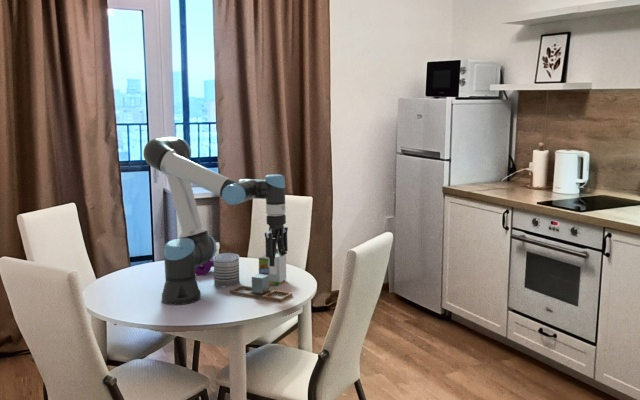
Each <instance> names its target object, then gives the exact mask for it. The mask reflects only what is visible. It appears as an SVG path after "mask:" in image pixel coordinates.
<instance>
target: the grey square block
mask: <svg viewBox="0 0 640 400" xmlns="http://www.w3.org/2000/svg"><path fill="white" fill-rule="evenodd" d="M275 258H277V274H270V259H269V258H268V263H269V281H274V282H281V281H283V280H285V281H286V280H287V254H279V253H278V254H277V253H276V255H275ZM283 282H284V281H283Z"/></svg>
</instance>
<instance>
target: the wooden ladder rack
mask: <svg viewBox="0 0 640 400" xmlns="http://www.w3.org/2000/svg"><path fill="white" fill-rule="evenodd" d="M241 290H246V291H247V290H249V291H247V292H242V291H241ZM229 294H230V295H234V296H241V297H248V298H254V299H258V300H259V299H260V300H266V301H270V300H271V302H276V301H277V303H283V302H284V301H286V300H288V299H290V298H292V297H293V292H289V291H288V292H287V291H283V290H282V291H281V290H276V289H269V293H267V294H265V295H263V296H262V295H256V294H252V286H248V285H242V284H241V285H240V286H238V287H235V288H233V289H230V290H229ZM277 294H278V296H282V297H275V296H274V295H277Z"/></svg>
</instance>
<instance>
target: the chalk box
mask: <svg viewBox="0 0 640 400" xmlns="http://www.w3.org/2000/svg"><path fill="white" fill-rule="evenodd" d="M276 253H277V254H279V251H278V248H276ZM258 274H264V275H269V263H268V258H267V257H266V254H263V255H262V256H260V257H258ZM285 281H286V279H285V280H283V281H281V282H274V281H269V286H275V285H276V286H277V287H278V286H280V284H282V283H284V282H285Z"/></svg>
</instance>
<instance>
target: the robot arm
mask: <svg viewBox="0 0 640 400" xmlns="http://www.w3.org/2000/svg"><path fill="white" fill-rule="evenodd" d="M191 156H192V149H191V147H190V144H189V143H188V141H186V139H184V138H182V137H178V136H167V137H158V138H157V137H156V138H153V139H151V140H149V141H148V142H147V143H145V146H144V148H143V158H144V160H145V162H146V164H147V165H148V166H150V167H151V168H153V169H155V170H156V171H157V170H158V171H159V172H161V174H162V175H165V176H166V179H167V182H168V186H169V189H170V193H171V197H172V200H173V204H174V208H175V212H176V216H177V220H178V223H179V227H180V230H181V233H180V235H179V238H177V239H176V238H175V239H172V240H169V241H168V242H166V243H165V244H164V246H163V247H164V249H163V250H164V251H163V257H164V258H163V259H164V274H165V275H164V276H165V283H164V285H163V289H162V290H163V291H162V292H161V301H162V303H164V304H167V305H168V304H169V305H174V306H175V305H178V306H179V305H187V304H191V303H195V302H198V301H199V300H200V299H201V298H202V295H201V290H200V288H199V284H198V282H197V278H196V274H195V268H196V267H198V266H200V265H202V264H205V263H207V262H208V261H209V260H211V259H212V258H213V257H214V256H216V252H217V244H216V240H215V239H214V237H212V236H211V235H210V234H209V233H208V229H207V228H205V227H203V225H202V221H201V216H200V213H199V209H198V206H197V202H196V198H195V194H194V191H193V187H192V184H193V185H195V186H198V187H200V188H202V189H203V190H206V191H208V192H210V193H212V194H214V195H217V196H219V197H221V198H222V199H223V202H225V204H227V205H231V206H234V205H238V204H241V203H244V202H247V201H250V200H253V199H258V200H259V199H260V200H262V199H263V200H265V213H266V214H267V215H266V225H267V226H269V227H268V232H264V237H265V255H266V257H267V258H269V259H270V274H277V258H275V255H276V249H278V254H285V255H287V254H288V251H289V250H288V229H289V227H287V226H284V225H286V223H287V221H286V208H287V207H286V184H285V183H286V181H285V176H284V175H282V174H275V173H274V174H273V173H272V174H267V175H265V178H264V179H252V178H243V179H242V178H241V179H239V180H238V181H235V180H233V179H231V178H229V177H227V176H225V175H223V174H220V173H218V172H215V170H214V171H213V170H211V169H210V168H208V167H206V166H203V165H201V164H198V163H196V162H194V161H192V160H190V158H191Z"/></svg>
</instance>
